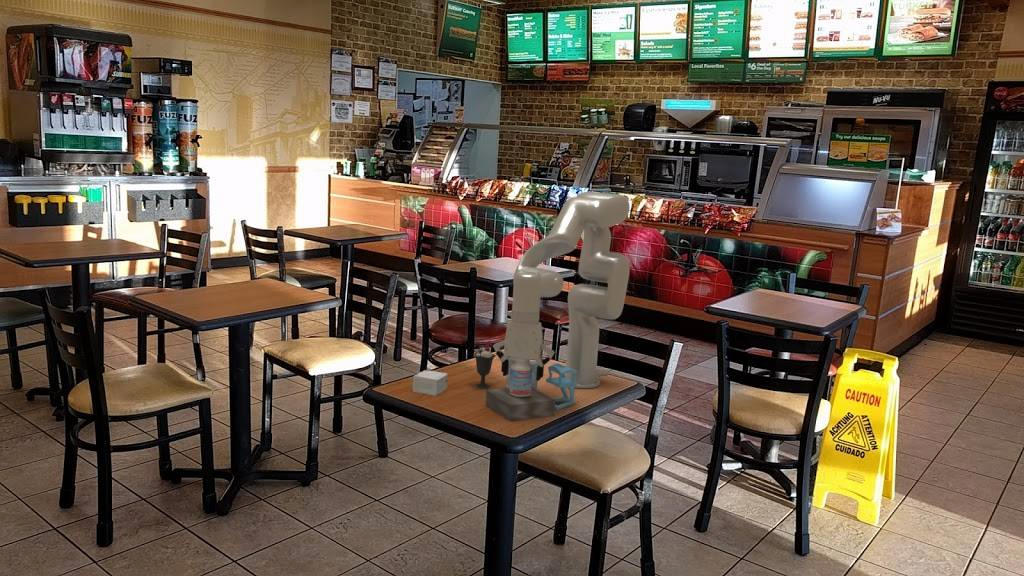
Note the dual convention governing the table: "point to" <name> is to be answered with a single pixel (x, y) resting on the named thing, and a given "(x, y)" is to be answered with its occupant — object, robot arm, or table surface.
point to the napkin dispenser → (534, 373)
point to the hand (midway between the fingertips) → (522, 377)
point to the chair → (562, 383)
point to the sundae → (483, 364)
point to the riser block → (520, 404)
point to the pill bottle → (520, 378)
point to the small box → (430, 382)
